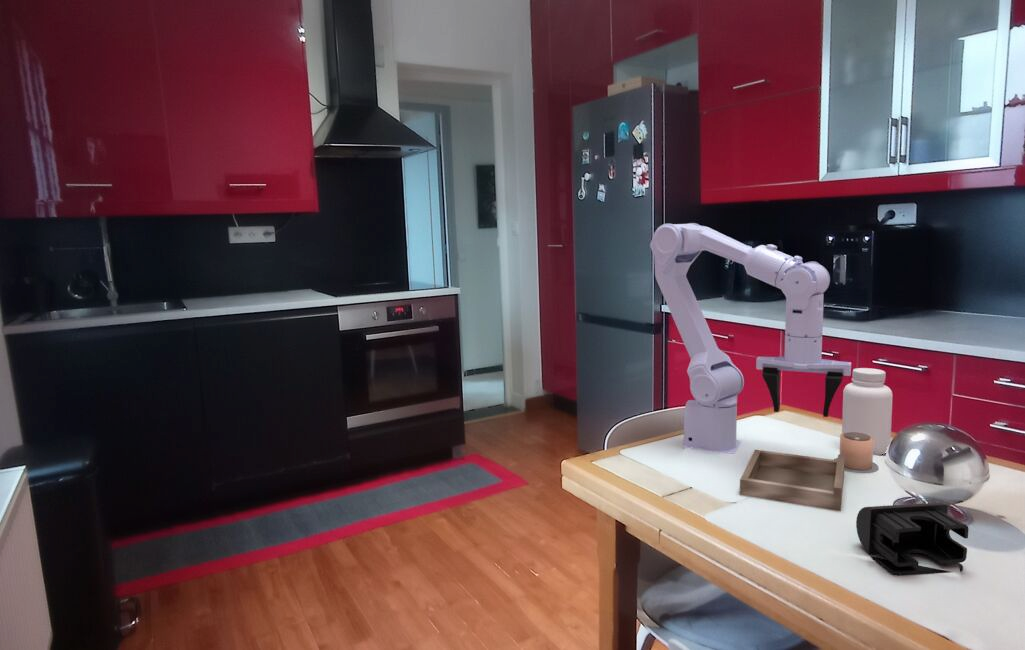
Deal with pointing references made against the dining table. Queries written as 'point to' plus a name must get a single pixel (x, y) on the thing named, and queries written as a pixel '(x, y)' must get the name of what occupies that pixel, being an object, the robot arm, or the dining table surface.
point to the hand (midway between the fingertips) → (800, 412)
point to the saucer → (874, 469)
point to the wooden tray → (794, 479)
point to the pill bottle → (868, 407)
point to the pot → (857, 450)
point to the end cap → (911, 536)
